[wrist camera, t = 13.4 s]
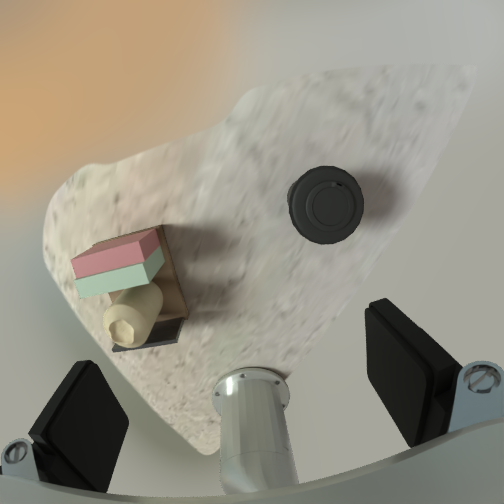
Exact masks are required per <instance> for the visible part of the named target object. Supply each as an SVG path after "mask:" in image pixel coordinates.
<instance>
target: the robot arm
mask: <svg viewBox="0 0 504 504" xmlns="http://www.w3.org/2000/svg"><path fill="white" fill-rule="evenodd" d="M365 327H366V350H367V374H368V378H369V380H370V382H371V384H372V386H373V387H374V389H375V391H376V392H377V394H378V395H379V397H380V399H381V400H382V402H383V404H384V405H385V407H386V409H387V410H388V412H389V414H390V415H391V417H392V419H393V420H394V422H395V423H396V425H397V427H398V429H399V431H400V432H401V434H402V436H403V437H404V439H405V441H406V442H407V444H408V446H409V447H410V448H411V449H409V450H406V451H404V452H401V453H399V454H396V455H394V456H391V457H389V458H386V459H383V460H380V461H377V462H375V463H372V464H369V465H366V466H363V467H360V468H357V469H353V470H350V471H347V472H344V473H340V474H337V475H334V476H330V477H326V478H322V479H318V480H314V481H310V482H306V483H301V484H299V481H298V476H297V472H296V467H295V463H294V458H293V453H292V448H291V444H290V439H289V434H288V430H287V425H286V421H285V416H284V410H285V409H286V407H287V405H288V403H289V399H290V394H289V389H288V386H287V384H286V382H285V381H284V380H283V379H282V377H280V376H279V375H277V374H276V373H274V372H272V371H269V370H266V369H261V368H244V369H239V370H236V371H232V372H230V373H228V374H226V375H225V376H224V377H222V378H221V379H220V380H219V381H218V382H217V383H216V385H215V387H214V388H213V392H212V404H213V407H214V409H215V410H216V412H217V413H218V414H219V415H220V416H221V439H220V482H221V486H222V488H223V490H224V492H225V493H226V495H222V496H207V497H174V498H173V497H142V496H128V495H116V494H108V493H106V492H107V491H108V487H109V484H110V481H111V478H112V474H113V471H114V468H115V465H116V462H117V459H118V456H119V453H120V450H121V446H122V444H123V441H124V438H125V435H126V432H127V429H128V426H129V420H128V417H127V415H126V414H125V412H124V410H123V409H122V407H121V405H120V404H119V402H118V400H117V399H116V397H115V395H114V394H113V392H112V390H111V388H110V387H109V385H108V383H107V381H106V379H105V378H104V376H103V374H102V372H101V370H100V368H99V367H98V365H97V364H95V363H94V362H92V361H91V360H85V361H77V362H76V363H75V364H74V365H73V367H72V368H71V370H70V371H69V373H68V374H67V375H66V377H65V378H64V380H63V381H62V383H61V384H60V385H59V387H58V388H57V390H56V391H55V393H54V394H53V396H52V397H51V399H50V400H49V402H48V403H47V405H46V406H45V408H44V409H43V411H42V412H41V414H40V415H39V417H38V418H37V420H36V421H35V423H34V425H33V426H32V428H31V429H30V431H29V433H28V434H29V436H30V437H31V438H32V439H33V441H34V443H33V444H31V443H30V442H29V441H28V440H27V439H24V438H21V439H16V440H14V441H12V442H10V443H9V444H8V445H7V446H6V447H5V448H4V450H3V452H2V455H1V464H2V465H1V466H0V504H504V371H503V370H502V368H501V367H499V366H498V365H497V364H495V363H492V362H489V361H476V362H473V363H470V364H468V365H466V366H465V367H462V366H461V365H460V364H459V363H458V362H457V361H456V360H455V359H454V358H453V357H452V356H451V355H450V354H449V353H448V352H446V351H445V350H444V349H443V348H442V347H441V346H440V345H439V344H438V343H437V342H436V341H435V340H434V339H433V338H432V337H430V336H429V335H428V334H427V333H426V332H425V331H424V330H423V329H422V328H420V327H418V326H417V325H416V324H415V323H414V322H413V321H412V320H410V318H408V317H407V316H406V315H405V314H404V313H403V312H402V311H401V310H399V309H398V308H397V307H396V306H395V305H394V304H393V303H392V302H391V301H389V300H388V299H387V298H383V299H380V300H377V301H374V302H371V303H370V304H369V308H366V309H365Z"/></svg>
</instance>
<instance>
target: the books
mask: <svg viewBox="0 0 504 504" xmlns="http://www.w3.org/2000/svg"><path fill="white" fill-rule="evenodd" d="M164 262H165V259H164V256H163V253H162V249H161V246H160V242H159V239H158V235H157V232H156V228H155V229H151V230H147V231H144V232H140V233H137V234H133V235H129V236H126V237H122V238H119V239H115V240H112V241H108V242H105V243H101V244H98V245H95V246H93V247H92V248H90V249H88V250H86V251H85V252H83V253H81V254H80V255H78V256H76V257H75V258H73V259H71V263H72V266H73V269H74V272H75V275H76V279H75V280H74V283H75V286H76V289H77V291H78V294H79V296H80V299H81V298H86V297H90V296H95V295H99V294H104V293H108V292H113V291H117V290H122V289H126V288H131V287H135V286H140V285H144V284H149V283H150V281H151V280H152V279H153V277H154V276H155V275H156V273H157V272H158V270H159V269H160V268H161V266H162V265H163V264H164Z"/></svg>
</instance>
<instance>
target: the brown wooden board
mask: <svg viewBox="0 0 504 504" xmlns="http://www.w3.org/2000/svg"><path fill="white" fill-rule="evenodd" d="M155 228H156V232H157V235H158V239H159V242H160V246H161V249H162V253H163V256H164V259H165V262H164V264H163V265H162V266H161V268H160V269H159V270H158V272H157V273H156V275H155V276H154V277H153V279H152V280H151V281H152V282H154V283H155V284H157V285H158V287H159V288H160V289H161V291H162V294H163V306H162V308H161V311H160V313H159V315H158V317H157V319H156V321H155V322H158V321H164V320H169V319H174V318H179V317H183V318H184V320H186V319H188V316H189V313H188V310H187V307H186V304H185V301H184V298H183V295H182V292H181V288H180V285H179V282H178V279H177V276H176V272H175V269H174V266H173V263H172V259H171V256H170V252H169V249H168V245H167V242H166V238H165V235H164V231H163V228H162V225H158V226H155V227H151V228H147V229H143V230H140V231H136V232H133V233H129V234H125V235H122V236H118V237H115V238H111V239H108V240H105V241H101V242H98V243H96V244H94V245H92V246H95V245H98V244H101V243H105V242H108V241H112V240H115V239H119V238H122V237H126V236H129V235H133V234H137V233H140V232H144V231H147V230H151V229H155ZM123 290H124V289H122V290H117V291H113V292H108V293H109V296H110V298H111V301H112V303H113V302H114V301H115V300H116V299H117V297H118V296H119V295H120V294H121V293H122V291H123Z"/></svg>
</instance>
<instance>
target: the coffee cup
mask: <svg viewBox="0 0 504 504" xmlns="http://www.w3.org/2000/svg"><path fill="white" fill-rule="evenodd" d="M287 202H288V205H289V214H290V217H291V220H292V223H293V225H294V226H295V228H296V229H297V231H298V232H299V233H300V234H301V235H302V236H303V237H305V238H306V239H308V240H309V241H311V242H314V243H318V244H321V245H322V244H334V243H337V242H340V241H342V240H344V239H346V238H347V237H348V236H349V235H351V234H352V233H353V232H354V231H355V229H356V228H357V226H358V225H359V223H360V221H361V218H362V214H363V209H364V199H363V195H362V192H361V188H360V186H359V185H358V183H357V181H356V180H355V179H354V177H352V176H351V175H350V174H349V173H347V172H346V171H345V170H343V169H340V168H337V167H335V166H319V167H316V168H313V169H310V170H309V171H307V172H306V173H305V174H303V175H302V176H301V177H300V178H299V179H298V180H297V181H296V182H295V183H293V184H292V186H291V187H290V189H289V191H288V194H287Z"/></svg>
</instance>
